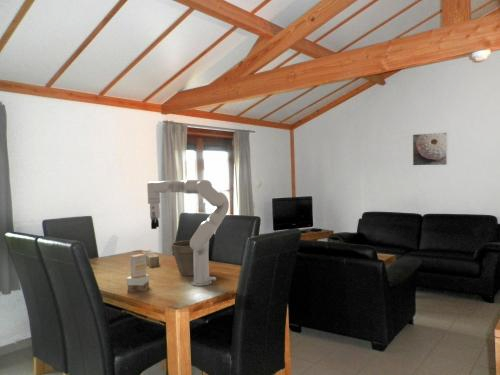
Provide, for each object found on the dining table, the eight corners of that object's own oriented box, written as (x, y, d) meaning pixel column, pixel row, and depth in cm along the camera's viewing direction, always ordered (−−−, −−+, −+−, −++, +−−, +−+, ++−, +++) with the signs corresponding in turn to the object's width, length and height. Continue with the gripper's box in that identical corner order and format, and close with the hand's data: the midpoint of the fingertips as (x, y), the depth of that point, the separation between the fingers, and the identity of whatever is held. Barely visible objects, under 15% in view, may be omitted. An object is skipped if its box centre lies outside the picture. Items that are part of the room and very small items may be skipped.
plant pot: (169, 278, 266) (168, 246, 265) (174, 270, 290) (173, 240, 290) (207, 277, 267) (206, 245, 267) (208, 268, 292) (208, 239, 291)
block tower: (159, 267, 305) (150, 259, 331) (159, 256, 305) (150, 249, 331) (149, 268, 302) (141, 260, 328) (149, 257, 301) (141, 250, 327)
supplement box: (142, 274, 245) (142, 253, 245) (146, 276, 242) (146, 254, 242) (130, 277, 239) (130, 255, 239) (134, 278, 236) (133, 256, 236)
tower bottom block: (148, 287, 246) (148, 280, 246) (144, 291, 236) (144, 284, 236) (132, 287, 246) (132, 281, 246) (128, 292, 236) (127, 285, 236)
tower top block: (148, 280, 246) (148, 274, 246) (143, 285, 236) (142, 278, 236) (133, 280, 246) (132, 274, 246) (126, 285, 236) (126, 278, 236)
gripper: (158, 201, 245) (159, 229, 245) (161, 200, 262) (162, 226, 262) (145, 202, 244) (146, 229, 244) (150, 200, 261) (151, 226, 261)
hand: (155, 227), depth 253 cm, fingers open, 9 cm apart
